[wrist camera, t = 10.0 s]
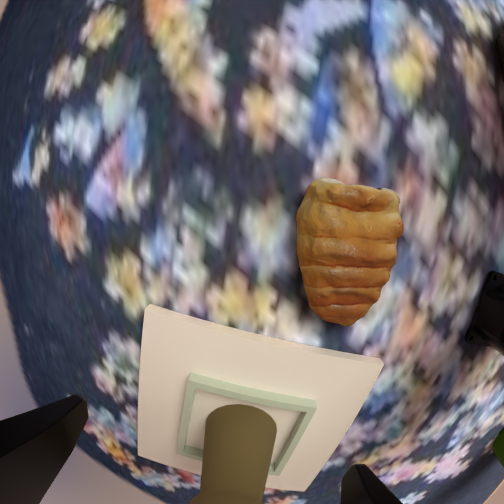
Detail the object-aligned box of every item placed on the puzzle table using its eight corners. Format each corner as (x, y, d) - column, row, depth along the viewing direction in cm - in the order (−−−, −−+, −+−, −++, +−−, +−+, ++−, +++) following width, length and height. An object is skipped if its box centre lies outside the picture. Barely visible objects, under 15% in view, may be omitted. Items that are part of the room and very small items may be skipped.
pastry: (376, 316, 20) (394, 340, 16) (286, 313, 20) (288, 338, 17) (393, 186, 18) (418, 186, 14) (297, 176, 19) (303, 171, 15)
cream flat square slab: (379, 358, 20) (388, 371, 18) (304, 484, 24) (304, 498, 22) (150, 303, 21) (139, 314, 19) (140, 449, 24) (134, 461, 22)
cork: (235, 457, 22) (219, 555, 11) (190, 420, 22) (153, 524, 11) (291, 434, 21) (295, 544, 10) (247, 392, 21) (230, 515, 10)
